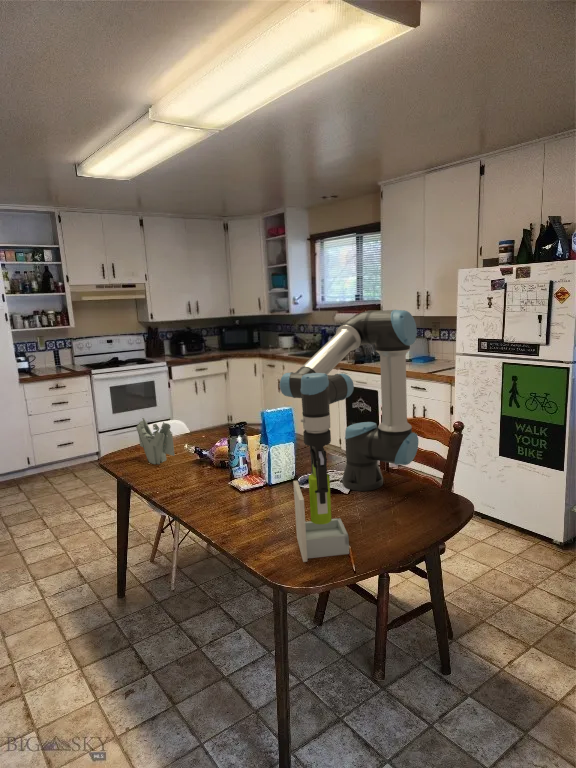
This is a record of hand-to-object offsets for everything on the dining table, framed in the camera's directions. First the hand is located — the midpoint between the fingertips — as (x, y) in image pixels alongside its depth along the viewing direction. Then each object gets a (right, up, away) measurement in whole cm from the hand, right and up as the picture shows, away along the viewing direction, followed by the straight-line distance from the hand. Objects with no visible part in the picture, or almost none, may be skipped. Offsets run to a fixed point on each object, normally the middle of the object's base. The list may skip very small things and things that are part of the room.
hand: (320, 508), depth 139 cm
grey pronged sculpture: (-69, -1, +87) cm, 111 cm away
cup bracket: (+1, -12, +2) cm, 12 cm away
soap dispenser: (0, -4, +1) cm, 4 cm away
